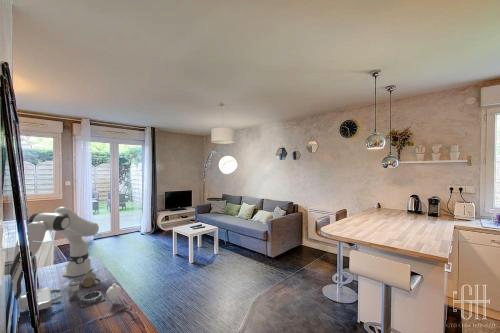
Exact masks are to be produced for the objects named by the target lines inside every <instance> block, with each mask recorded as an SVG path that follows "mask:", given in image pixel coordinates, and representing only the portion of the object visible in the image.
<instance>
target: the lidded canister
mask: <svg viewBox="0 0 500 333" xmlns="http://www.w3.org/2000/svg"><path fill="white" fill-rule="evenodd" d="M79 296H80V280H75V279H74V280H72V281H70V282H69V283H68V301H69V302H72V301H76V300H78V298H80V297H79Z"/></svg>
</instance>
